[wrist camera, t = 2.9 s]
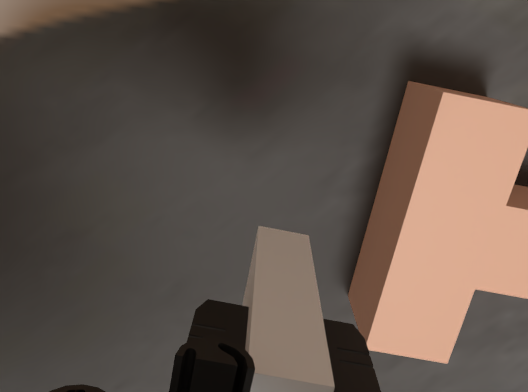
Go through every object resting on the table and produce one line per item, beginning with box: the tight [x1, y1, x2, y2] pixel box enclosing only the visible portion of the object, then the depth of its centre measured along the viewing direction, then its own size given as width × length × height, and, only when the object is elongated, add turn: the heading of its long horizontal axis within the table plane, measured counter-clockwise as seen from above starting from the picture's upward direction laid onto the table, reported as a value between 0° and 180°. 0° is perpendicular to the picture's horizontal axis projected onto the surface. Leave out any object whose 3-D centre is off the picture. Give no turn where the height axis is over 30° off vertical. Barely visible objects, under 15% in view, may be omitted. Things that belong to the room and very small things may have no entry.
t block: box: [348, 81, 528, 364], centre depth 24 cm, size 12×12×5 cm
